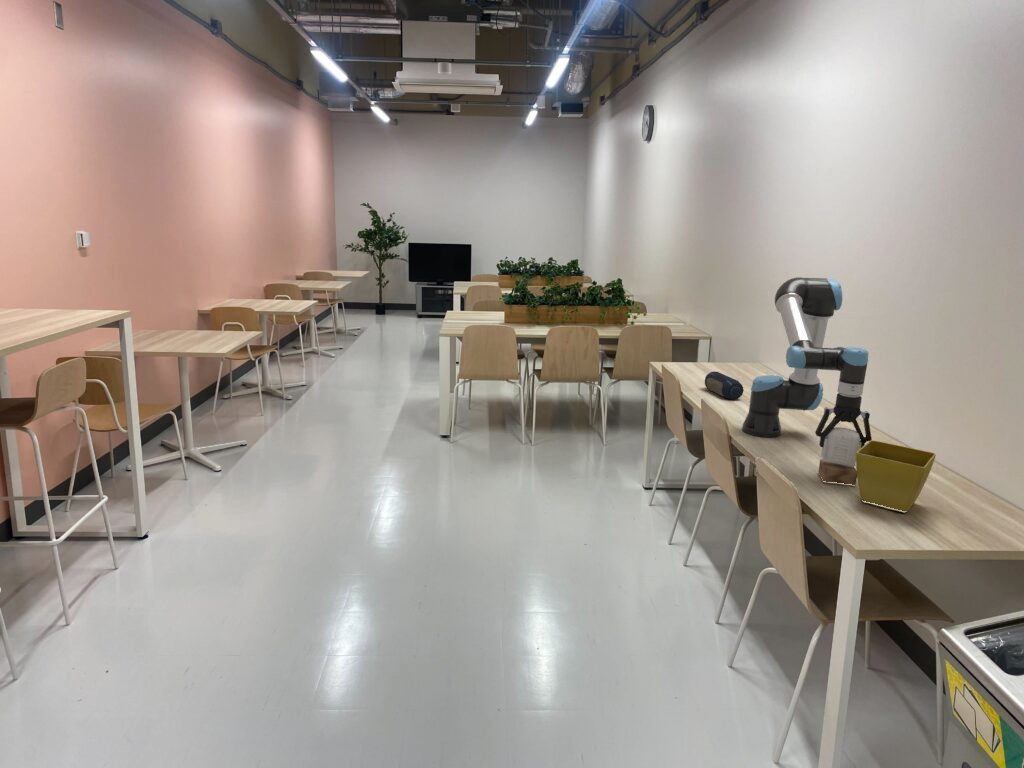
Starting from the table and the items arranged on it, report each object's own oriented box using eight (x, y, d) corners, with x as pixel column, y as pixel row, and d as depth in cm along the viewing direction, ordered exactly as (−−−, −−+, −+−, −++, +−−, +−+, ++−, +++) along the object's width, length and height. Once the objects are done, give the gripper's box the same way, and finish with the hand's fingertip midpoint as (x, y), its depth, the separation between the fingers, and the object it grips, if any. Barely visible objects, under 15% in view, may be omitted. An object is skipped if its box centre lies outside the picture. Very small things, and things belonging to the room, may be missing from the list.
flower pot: (863, 486, 238) (871, 438, 234) (927, 502, 226) (936, 452, 222) (847, 503, 224) (855, 452, 220) (915, 521, 212) (924, 468, 208)
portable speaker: (700, 389, 364) (702, 369, 362) (718, 388, 366) (720, 369, 364) (726, 402, 340) (728, 381, 338) (744, 401, 343) (747, 381, 340)
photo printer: (856, 464, 242) (861, 429, 239) (854, 467, 238) (860, 432, 235) (823, 458, 247) (828, 423, 244) (821, 461, 243) (827, 426, 240)
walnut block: (823, 482, 240) (825, 468, 239) (818, 472, 249) (820, 459, 248) (855, 486, 238) (857, 472, 237) (849, 476, 247) (851, 462, 246)
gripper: (815, 393, 235) (806, 457, 241) (889, 400, 231) (878, 465, 236) (811, 388, 243) (802, 450, 248) (883, 395, 238) (872, 458, 243)
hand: (839, 458), depth 242 cm, fingers closed on photo printer, 10 cm apart
